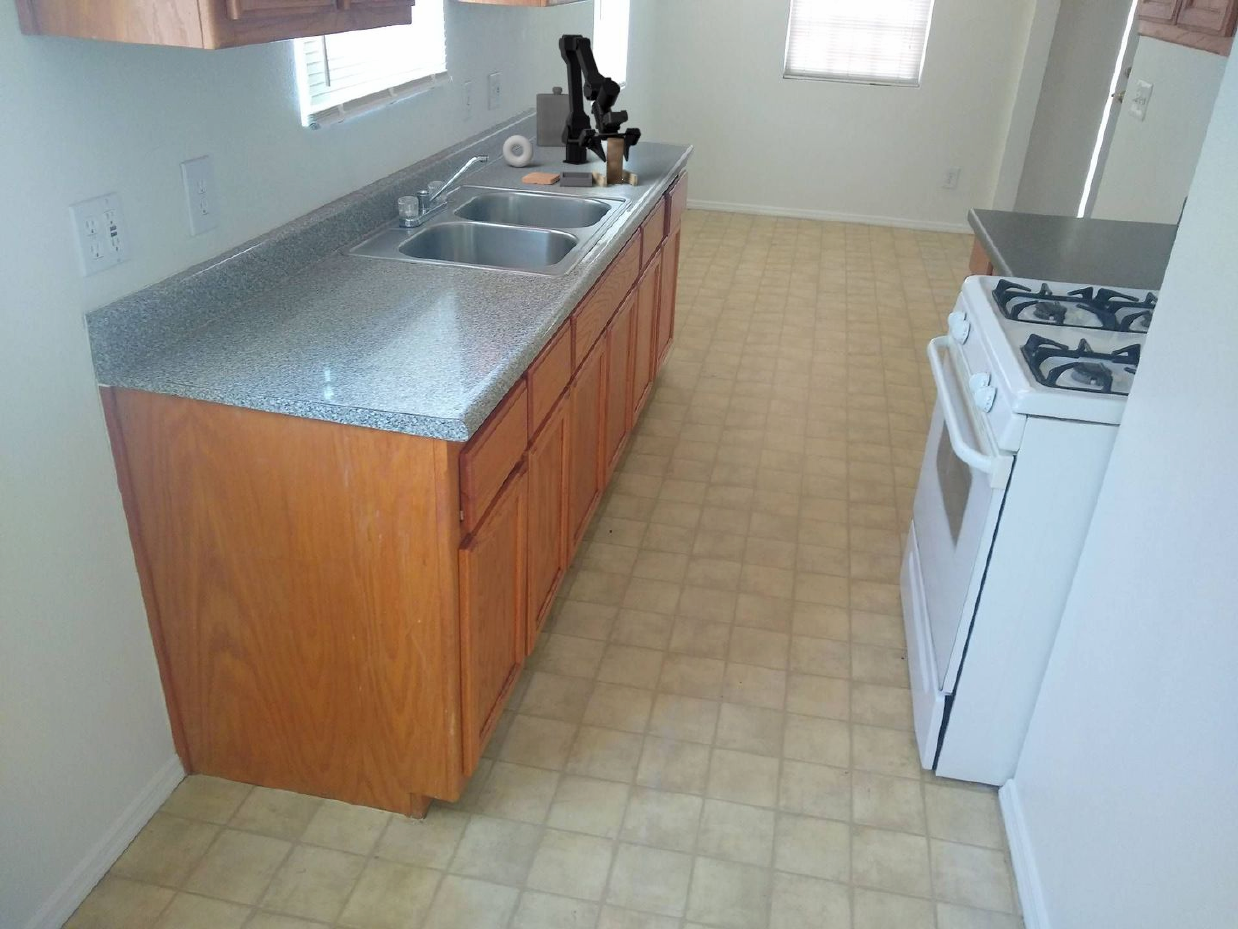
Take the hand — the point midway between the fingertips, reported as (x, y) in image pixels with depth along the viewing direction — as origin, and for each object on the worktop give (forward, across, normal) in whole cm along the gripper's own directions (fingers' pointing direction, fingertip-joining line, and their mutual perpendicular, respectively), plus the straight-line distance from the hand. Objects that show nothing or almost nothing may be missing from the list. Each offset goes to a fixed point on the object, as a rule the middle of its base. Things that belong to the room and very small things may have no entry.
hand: (616, 161), depth 287 cm
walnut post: (+4, 0, +6) cm, 7 cm away
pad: (-2, -21, +12) cm, 24 cm away
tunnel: (+4, 0, +6) cm, 7 cm away
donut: (-18, -21, +28) cm, 39 cm away
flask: (-43, +4, +53) cm, 69 cm away
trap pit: (+2, -12, +7) cm, 14 cm away
